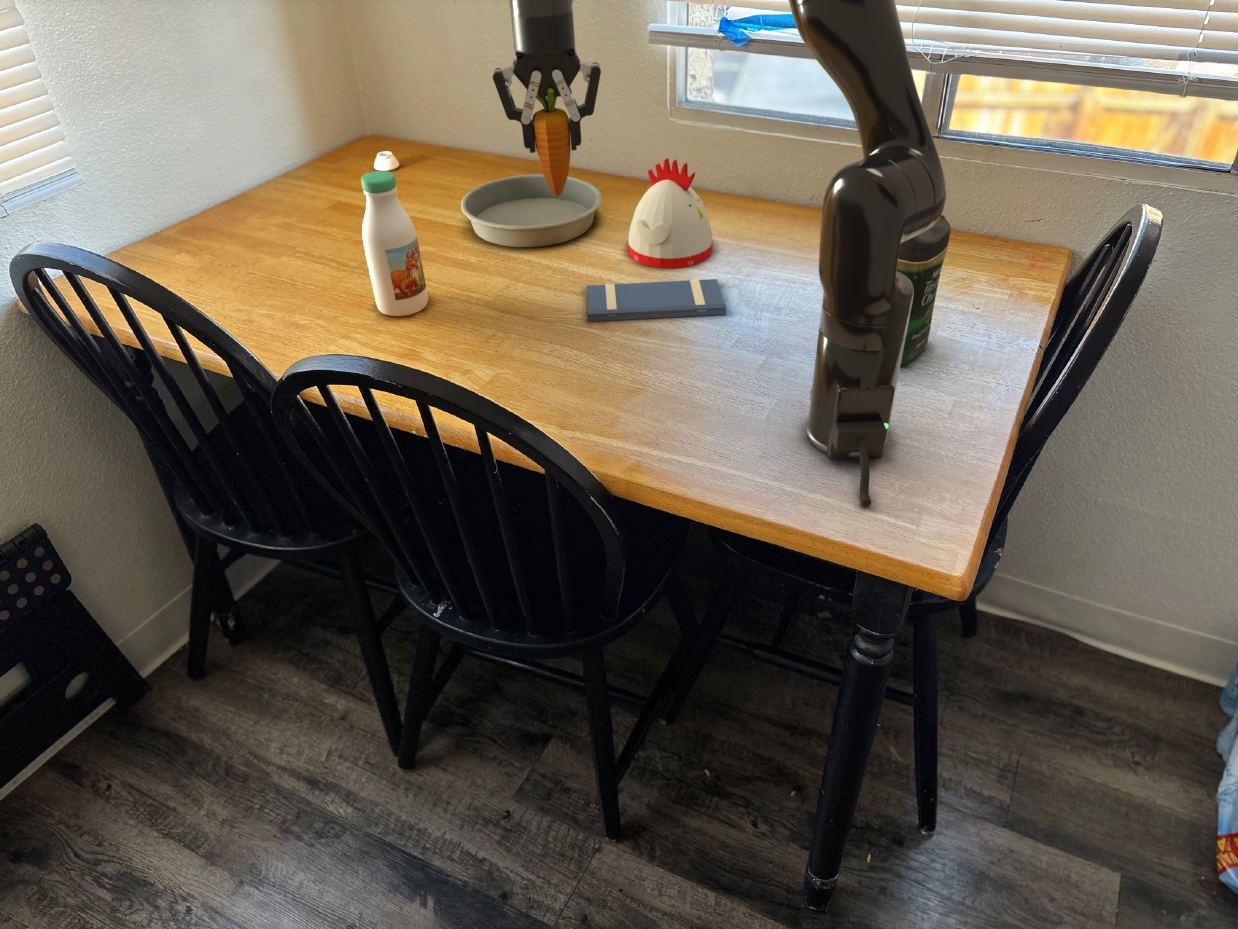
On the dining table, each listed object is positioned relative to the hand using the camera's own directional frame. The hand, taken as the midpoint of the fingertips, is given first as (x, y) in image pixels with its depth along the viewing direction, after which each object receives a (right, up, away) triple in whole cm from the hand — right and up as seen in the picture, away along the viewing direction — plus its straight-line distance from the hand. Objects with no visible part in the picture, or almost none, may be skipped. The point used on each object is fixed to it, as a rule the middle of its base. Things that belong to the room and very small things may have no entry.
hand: (553, 149), depth 119 cm
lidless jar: (-39, +19, +66) cm, 79 cm away
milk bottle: (-24, -18, +18) cm, 35 cm away
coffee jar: (+46, -26, +3) cm, 53 cm away
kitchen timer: (+17, -6, +30) cm, 35 cm away
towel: (+14, -17, +16) cm, 27 cm away
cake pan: (-7, +1, +41) cm, 42 cm away
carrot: (0, -5, +4) cm, 7 cm away
